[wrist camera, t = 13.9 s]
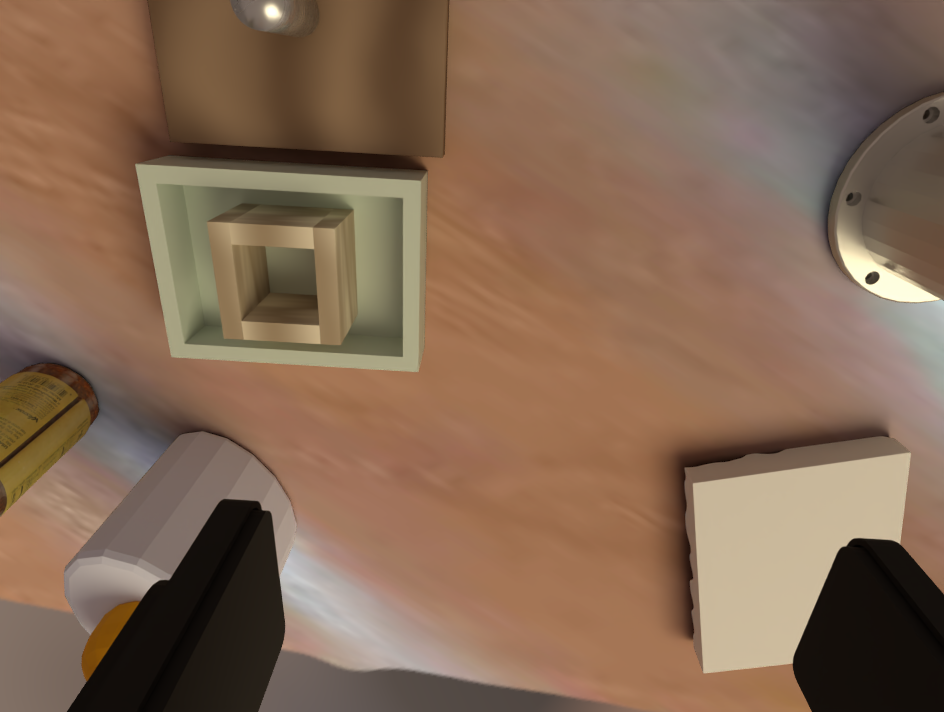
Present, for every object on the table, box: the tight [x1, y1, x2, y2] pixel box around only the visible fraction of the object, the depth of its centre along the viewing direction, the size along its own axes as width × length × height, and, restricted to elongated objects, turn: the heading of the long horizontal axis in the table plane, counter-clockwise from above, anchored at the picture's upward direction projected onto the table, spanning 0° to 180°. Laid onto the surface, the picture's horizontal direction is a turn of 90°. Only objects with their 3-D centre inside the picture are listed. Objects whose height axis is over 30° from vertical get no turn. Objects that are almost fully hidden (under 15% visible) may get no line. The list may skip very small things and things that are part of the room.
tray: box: [135, 155, 428, 372], centre depth 37 cm, size 16×12×4 cm
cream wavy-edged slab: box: [684, 436, 911, 673], centre depth 48 cm, size 15×3×20 cm
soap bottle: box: [64, 431, 297, 681], centre depth 39 cm, size 13×8×20 cm, turn 28°
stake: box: [230, 0, 319, 37], centre depth 29 cm, size 2×2×6 cm
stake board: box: [147, 0, 449, 158], centre depth 32 cm, size 16×14×2 cm
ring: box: [207, 203, 358, 345], centre depth 36 cm, size 7×7×5 cm
